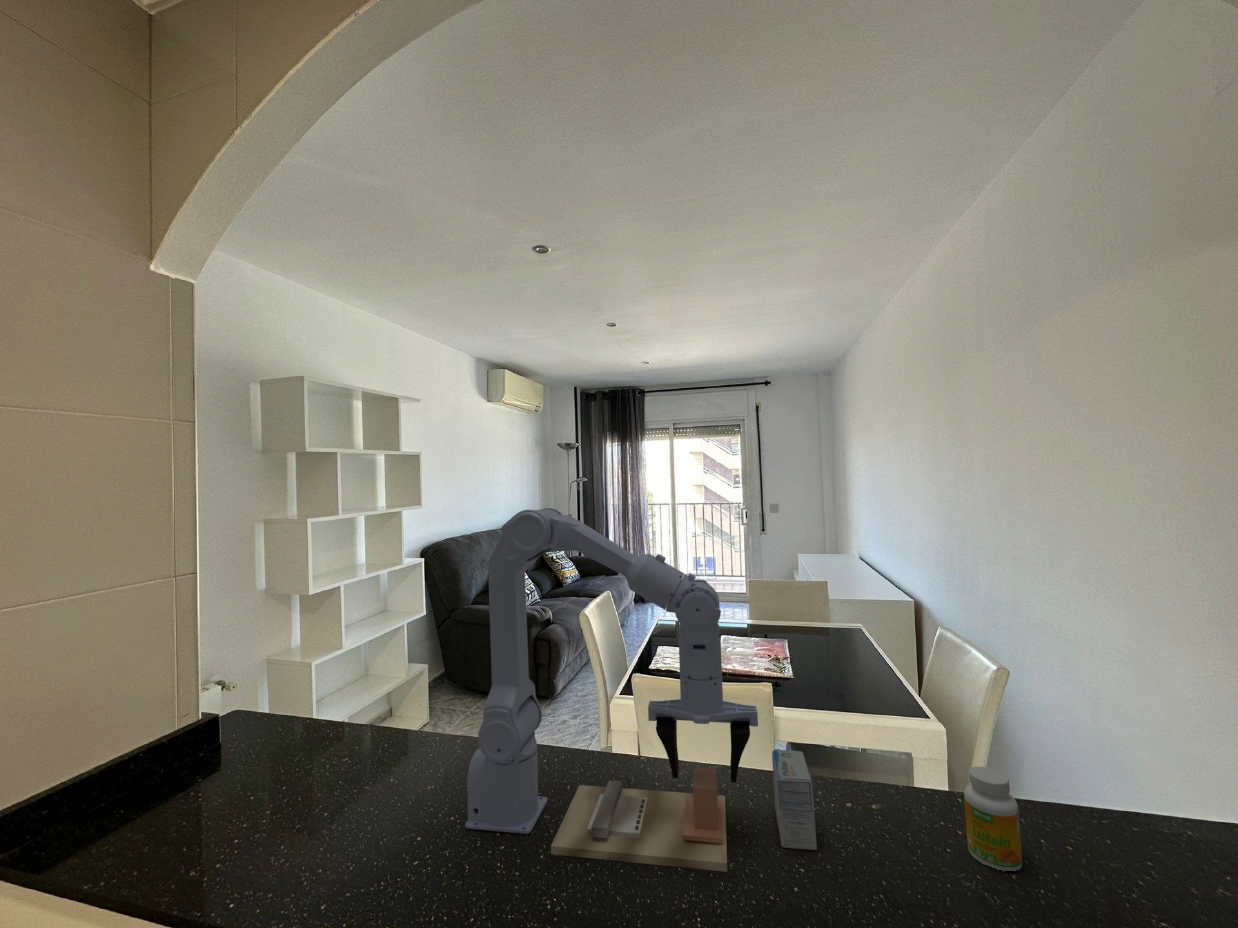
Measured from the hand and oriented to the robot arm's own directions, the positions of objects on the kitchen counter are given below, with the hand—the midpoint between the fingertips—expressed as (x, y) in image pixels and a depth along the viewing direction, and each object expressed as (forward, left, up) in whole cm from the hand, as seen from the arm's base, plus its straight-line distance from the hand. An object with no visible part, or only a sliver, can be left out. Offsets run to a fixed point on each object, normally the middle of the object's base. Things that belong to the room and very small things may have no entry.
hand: (704, 776), depth 69 cm
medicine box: (+12, +2, -8) cm, 14 cm away
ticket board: (-8, 0, -7) cm, 11 cm away
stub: (0, 0, -6) cm, 6 cm away
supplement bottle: (+35, 0, -7) cm, 35 cm away
